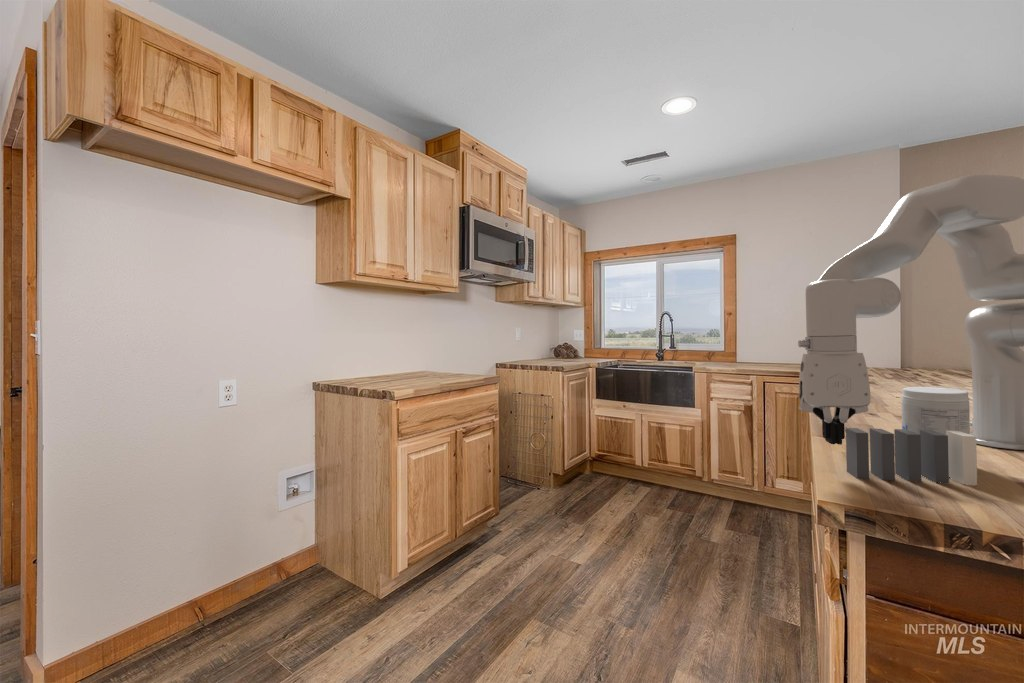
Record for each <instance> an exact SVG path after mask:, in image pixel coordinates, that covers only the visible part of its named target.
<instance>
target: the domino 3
mask: <svg viewBox="0 0 1024 683" xmlns="http://www.w3.org/2000/svg"><path fill="white" fill-rule="evenodd" d="M893 431H894V433H893V434H894V457H895V475H896V474H897V475H896V476H898V475H899V477H900V476H901V477H900V478H901V479H903V478H904V479H903V480H905V479H906V480H905V481H907V480H908V481H907V482H909V481H917V482H916V483H922V476H921V435H920V434H917V433H914V432H912V431H909V430H906V429H902V428H899V429H898V428H894V429H893Z"/></svg>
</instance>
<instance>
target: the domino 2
mask: <svg viewBox="0 0 1024 683" xmlns="http://www.w3.org/2000/svg"><path fill="white" fill-rule="evenodd" d="M869 458H870V459H869V465H870V474H872V475H874V476H875V477H877V478H878V479H880V480H881V481H888V482H889V481H890V480H891V481H892V482H894V481H895V482H896V474H895V438H894V433H892V432H890V431H887V430H885V429H882V428H869Z"/></svg>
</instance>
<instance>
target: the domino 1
mask: <svg viewBox="0 0 1024 683" xmlns="http://www.w3.org/2000/svg"><path fill="white" fill-rule="evenodd" d="M845 450H846V452H845V454H846V456H845V458H846V459H845V460H846V472H847V473H849V474H850V475H851V476H853V477H854V478H855V479H859V480H870V459H869V458H870V443H869V432H866V431H864V430H862V429H860V428H858V427H845Z"/></svg>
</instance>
